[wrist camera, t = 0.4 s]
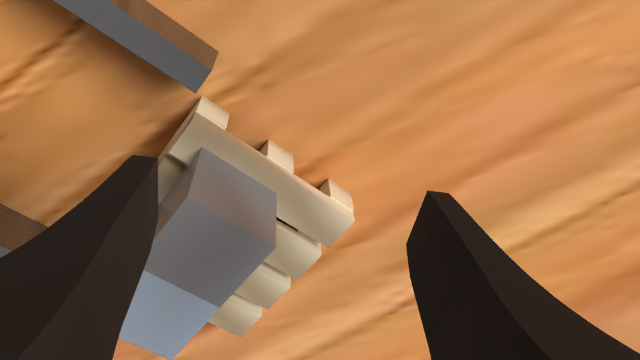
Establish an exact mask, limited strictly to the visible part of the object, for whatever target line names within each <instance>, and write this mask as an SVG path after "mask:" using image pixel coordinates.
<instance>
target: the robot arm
mask: <svg viewBox="0 0 640 360" xmlns="http://www.w3.org/2000/svg"><path fill="white" fill-rule="evenodd" d="M157 222H158V158H153V157H145V156H137V155H133V156H131V157H130V158H128V159H127V160H126V161H125V162H124V163H123V164H122V165H121V166H120V167H119V168H118V169H117V170H116V171H115V172H114V173H113V174H112V175H111V176H110V177H109V178H108V179H107V180H105V181H104V182H103V183H102V184H101V185H100V186H99V187H98V188H97V189H96V190H94V191H93V192H92V193H91V194H90V195H89V196H88V197H86V198H85V199H84V200H83V201H82V202H81V203H79V204H78V205H77V206H76V207H74V208H73V209H72V210H71V211H69V212H68V213H67V214H65V215H64V216H63V217H62V218H60V219H59V220H58V221H56V222H55V223H54V224H52V225H51V226H50V227H48V228H47V229H45V230H44V231H43V232H41V233H40V234H38V235H37V236H35V237H34V238H32V239H31V240H29V241H28V242H26V243H25V244H23V245H21V246H20V247H18V248H17V249H15V250H13V251H11V252H10V253H8V254H6V255H4V256H2V257H1V258H0V360H112V359H113V355H114V351H115V347H116V344H117V340H118V337H119V334H120V331H121V328H122V325H123V322H124V320H125V317H126V315H127V312H128V309H129V307H130V304H131V302H132V299H133V296H134V294H135V291H136V289H137V286H138V283H139V281H140V278H141V276H142V273H143V270H144V268H145V265H146V262H147V260H148V257H149V254H150V251H151V247H152V243H153V239H154V235H155V231H156V226H157ZM406 246H407V256H408V265H409V272H410V278H411V282H412V286H413V290H414V294H415V298H416V302H417V305H418V309H419V313H420V316H421V320H422V324H423V328H424V331H425V335H426V339H427V342H428V346H429V351H430V355H431V360H640V354H639V353H637V352H636V351H634V350H632V349H631V348H629V347H627V346H626V345H624V344H622V343H621V342H619V341H618V340H616V339H614V338H613V337H611V336H609V335H608V334H606V333H605V332H603V331H602V330H600V329H599V328H597V327H595V326H594V325H592V324H591V323H590V322H588V321H587V320H585V319H584V318H582V317H581V316H580V315H578V314H577V313H575V312H574V311H573V310H571V309H570V308H568V307H567V306H566V305H564V304H563V303H562V302H560V301H559V300H558V299H557V298H555V297H554V296H553V295H552V294H550V293H549V292H548V291H547V290H546V289H544V288H543V287H542V286H541V285H539V284H538V283H537V282H536V281H535V280H534V279H532V278H531V277H530V276H529V275H528V274H527V273H526V272H525V271H523V270H522V269H521V268H520V267H519V266H518V265H517V264H516V263H515V262H514V261H513V260H512V259H511V258H510V257H509V256H508V255H507V254H506V253H505V252H504V251H503V250H502V249H501V248H500V247H499V246H498V245H497V244H496V243H495V242H494V241H493V240H492V239H491V238H490V237H489V236H488V235H487V234H486V233H485V232H484V230H483V229H482V228H481V227H480V226H479V225H478V224H477V223H476V222H475V221H474V220H473V219H472V217H471V216H470V215H469V214H468V213H467V212H466V211H465V210H464V209H463V208H462V206H461V205H460V204H459V203H458V202H457V201H456V200H455V199H454V198H453V197H452V196H451V195H450V194H449V193H443V192H434V191H427V193H426V196H425V198H424V201H423V203H422V206H421V208H420V211H419V213H418V216H417V218H416V221H415V223H414V226H413V228H412V231H411V233H410V236H409V238H408V241H407V243H406Z"/></svg>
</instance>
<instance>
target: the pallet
mask: <svg viewBox="0 0 640 360" xmlns="http://www.w3.org/2000/svg"><path fill="white" fill-rule="evenodd" d="M228 119H229V113H227V112H226V111H224V110H223V109H221V108H220V107H218V106H217V105H215V104H214V103H212V102H211V101H209V100H208V99H206V98H205V97H203V96H201V98H200V99H199V101H198V102H197V104H196V105H195V106H194V108H193V109H192V111H191V112H190V113H189V115H188V116H187V118H186V119H185V120H184V122H183V123H182V125H181V126H180V127H179V129H178V130H177V132H176V133H175V135H174V136H173V137H172V139H171V140H170V142H169V143H168V144H167V146H166V147H165V149H164V150H163V151H162V153H161V154H160V156H159V157H158V205H159V203H160V202H161V201H162V200H163V198H164V197H165V196H166V194H167V193H168V192H169V190H170V189H171V188H172V186H173V185H174V184H175V182H176V181H177V180H178V178H179V177H180V176H181V174H182V173H183V172H184V170H185V169H186V168H187V167H188V165H189V164H190V163H191V161H192V160H193V159H194V157H195V156H196V155H197V153H198V152H199V151H200V149H201V148H202V147H203V148H205V149H206V150H208V151H210V152H211V153H213V154H214V155H216V156H218V157H219V158H221V159H223V160H224V161H226V162H227V163H229V164H231V165H232V166H234V167H235V168H237V169H239V170H240V171H242V172H243V173H245V174H247V175H248V176H250V177H251V178H253V179H255V180H256V181H258V182H260V183H261V184H263V185H264V186H266V187H268V188H269V189H271V190H272V191H274V192H276V193H277V212H276V217H278V218H279V219H281V220H283V221H285V222H286V223H288V224H287V225H285V224H283V223H281V222H280V221H278V220H276V248H275V249H274V250H273V251H272V252H271V253H270V254H269V256H268V257H267V258H266V259H265V260H264V261H263V262H262V263H261V264H260V265H259V266H258V267H257V268H256V269H255V271H254V272H253V273H252V274H251V275H250V276H249V277H248V278H247V279H246V280H245V281H244V282H243V283H242V285H241V286H240V287H239V288H238V289H237V290H236V291H235V292H234V293H233V294H232V295H231V296H230V297H229V298H228V300H227V301H226V302H225V303H224V304H223V305H222V306H221V307H220V309H219V310H218V311H217V312H216V313H215V314H214V315H213V316H212V317H211V318H210V319H209V320H208V322H209V323H211V324H213V325H215V326H218V327H220V328H222V329H224V330H226V331H228V332H230V333H232V334H235V335H237V336H239V337H242V336H243V335H244V334H245V333H246V332H247V331H248V330H249V329H250V328H251V327H252V326H253V325H254V324H255V323H256V322H257V321H258V320H259V319H260V318H261V317H262V307H264V308H266V309H268V310H269V309H270V308H271V306H272V305H273V304H274V303H275V302H276V301H277V300H278V299H279V298H280V297H281V296H282V295H283V294H284V293H285V292H286V291H287V290H288V289H289V288H290V287H291V283H290V277H293V278H295V279H297V280H298V279H299V278H300V277H301V276H302V275H303V274H304V273H305V272H306V271H307V270H308V269H309V268H310V267H311V266H312V265H313V264H314V263H315V262H316V261H317V259H318V258H319V257H320V256H321V246H320V245H321V244H323V245H325V246H327V247H328V248H329V247H330V246H331V245H332V244H333V243H334V242H335V241H336V240H337V239H338V238H339V237H340V236H341V235H342V234H343V233H344V232H345V231H346V230H347V229H348V228H349V227H350V226H351V225H352V224H353V223H354V222H355V220H354V215H353V211H354V208H353V203H352V198H351V194H350V193H349V192H348V191H346V190H345V189H343V188H342V187H340V186H339V185H337V184H336V183H334V182H333V181H331V180H330V179H327V181H326V182H325V183H324V184H323V185H322V186H321V187H320V188H319V189H316V188H315V187H313V186H311V185H310V184H308V183H307V182H305V181H304V180H302V179H300V178H299V177H297V176H296V175H294V174H293V172H294V162H293V155H291V154H290V153H288V152H287V151H285V150H284V149H282V148H281V147H279V146H278V145H276V144H275V143H273V142H272V141H270V140H268V141H267V142H266V143H265V145H264V146H263V147H262V148H261V150H260V151H259V152H258V151H257V150H255V149H254V148H252V147H250V146H249V145H247V144H246V143H244V142H243V141H241V140H240V139H238V138H236V137H235V136H233V135H232V134H230V133H229V132H227V131H225V130H226V127H227V123H228Z"/></svg>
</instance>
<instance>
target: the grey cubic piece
mask: <svg viewBox="0 0 640 360" xmlns="http://www.w3.org/2000/svg"><path fill="white" fill-rule="evenodd" d="M276 212H277V193H276V192H274V191H272V190H271V189H269V188H268V187H266V186H264V185H263V184H261V183H260V182H258V181H256V180H255V179H253V178H251V177H250V176H248V175H247V174H245V173H243V172H242V171H240V170H239V169H237V168H235V167H234V166H232V165H231V164H229V163H227V162H226V161H224V160H223V159H221V158H219V157H218V156H216V155H214V154H213V153H211V152H210V151H208V150H206V149H205V148H203V147H202V148H201V149H200V151H199V152H198V153H197V155H196V156H195V157H194V159H193V160H192V161H191V163H190V164H189V165H188V167H187V168H186V169H185V170H184V172H183V173H182V174H181V176H180V177H179V178H178V180H177V181H176V182H175V184H174V185H173V186H172V188H171V189H170V190H169V192H168V193H167V194H166V196H165V197H164V198H163V200H162V201H161V202H160V203H159V205H158V222H157V226H156V231H155V235H154V239H153V243H152V247H151V251H150V254H149V257H148V260H147V262H146V265H145V268H144V271H146V272H148V273H150V274H152V275H154V276H156V277H158V278H160V279H162V280H164V281H166V282H169V283H171V284H173V285H175V286H177V287H179V288H181V289H183V290H185V291H187V292H189V293H191V294H193V295H195V296H197V297H199V298H201V299H203V300H205V301H207V302H209V303H211V304H213V305H215V306H217V307H219V308H220V307H221V306H222V305H223V304H224V303H225V302H226V301H227V300H228V298H229V297H230V296H231V295H232V294H233V293H234V292H235V291H236V290H237V289H238V288H239V287H240V286H241V285H242V283H243V282H244V281H245V280H246V279H247V278H248V277H249V276H250V275H251V274H252V273H253V272H254V271H255V269H256V268H257V267H258V266H259V265H260V264H261V263H262V262H263V261H264V260H265V259H266V258H267V257H268V256H269V254H270V253H271V252H272V251H273V250H274V249H275V248H276Z"/></svg>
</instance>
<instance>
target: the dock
mask: <svg viewBox="0 0 640 360" xmlns="http://www.w3.org/2000/svg"><path fill="white" fill-rule="evenodd" d="M53 1H55V2H56V3H58V4H59V5H61V6H63V7H64V8H66V9H67V10H69V11H70V12H72V13H73V14H75V15H76V16H78V17H79V18H81V19H82V20H84V21H85V22H87V23H89V24H90V25H92V26H93V27H95V28H96V29H98V30H99V31H101V32H102V33H104V34H105V35H107V36H108V37H110V38H111V39H113V40H115V41H116V42H118V43H119V44H121V45H122V46H124V47H125V48H127V49H128V50H130V51H131V52H133V53H134V54H136V55H138V56H139V57H141V58H142V59H144V60H145V61H147V62H148V63H150V64H151V65H153V66H154V67H156V68H157V69H159V70H160V71H162V72H164V73H165V74H167V75H168V76H170V77H171V78H173V79H174V80H176V81H177V82H179V83H180V84H182V85H183V86H185V87H186V88H188V89H190V90H191V91H193V92H194V93H196V92H197V91H198V89H199V88H200V87H201V85H202V84H203V82H204V81H205V79H206V78H207V77H208V75H209V74H210V72H211V71H212V68H213V66H214V63H215V60H216V57H217V55H218V51H216V50H215V49H214V48H212V47H211V46H209V45H208V44H206V43H205V42H204V41H202V40H201V39H199V38H198V37H196V36H195V35H194V34H192V33H191V32H189V31H188V30H186V29H185V28H184V27H182V26H181V25H179V24H178V23H176V22H175V21H174V20H172V19H171V18H169V17H168V16H166V15H165V14H164V13H162V12H161V11H159V10H158V9H156V8H155V7H154V6H152V5H151V4H149V3H148V2H146V1H145V0H53ZM47 228H48V227H46V226H44V225H42V224H40V223H38V222H36V221H34V220H32V219H30V218H27V217H25V216H23V215H21V214H19V213H17V212H15V211H13V210H11V209H9V208H7V207H5V206H3V205H1V204H0V258H1V257H2V256H4V255H6V254H8V253H10V252H11V251H13V250H15V249H17V248H18V247H20V246H21V245H23V244H25V243H26V242H28V241H29V240H31V239H32V238H34V237H35V236H37V235H38V234H40V233H41V232H43V231H44V230H45V229H47Z"/></svg>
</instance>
